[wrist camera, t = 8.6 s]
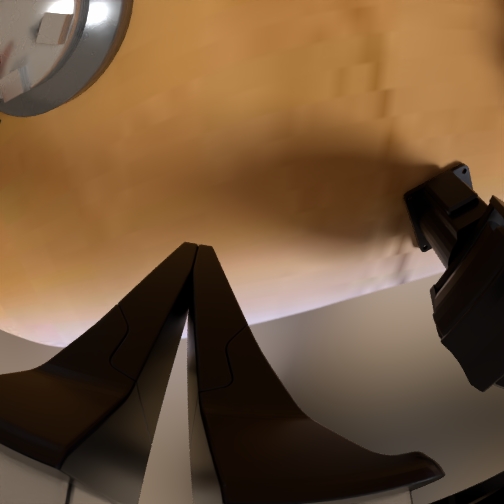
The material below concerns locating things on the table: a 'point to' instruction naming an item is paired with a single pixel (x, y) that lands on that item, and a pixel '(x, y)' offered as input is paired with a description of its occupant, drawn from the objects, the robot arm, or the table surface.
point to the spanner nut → (37, 41)
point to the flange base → (79, 60)
